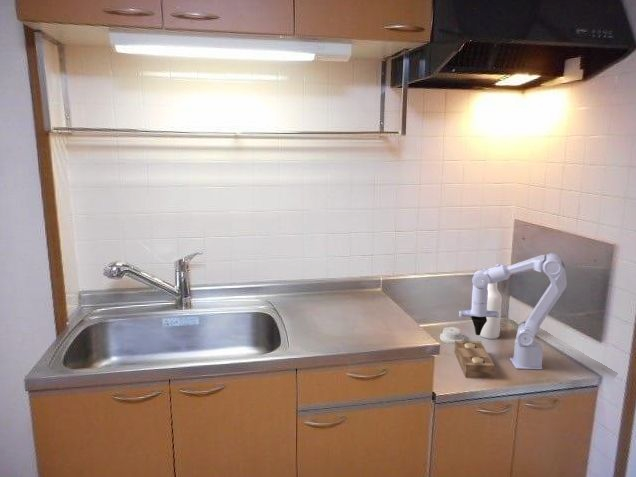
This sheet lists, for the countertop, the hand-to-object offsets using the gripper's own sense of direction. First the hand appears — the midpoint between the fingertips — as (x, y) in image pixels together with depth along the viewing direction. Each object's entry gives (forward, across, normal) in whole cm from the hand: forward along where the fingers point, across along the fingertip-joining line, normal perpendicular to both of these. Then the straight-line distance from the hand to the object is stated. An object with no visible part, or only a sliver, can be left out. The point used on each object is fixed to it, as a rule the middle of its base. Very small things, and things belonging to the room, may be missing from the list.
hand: (477, 334), depth 179 cm
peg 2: (+9, +3, +13) cm, 16 cm away
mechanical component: (+10, +7, -16) cm, 20 cm away
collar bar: (+9, +3, +7) cm, 12 cm away
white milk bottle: (+10, -10, -20) cm, 24 cm away
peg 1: (+9, +3, +1) cm, 10 cm away
